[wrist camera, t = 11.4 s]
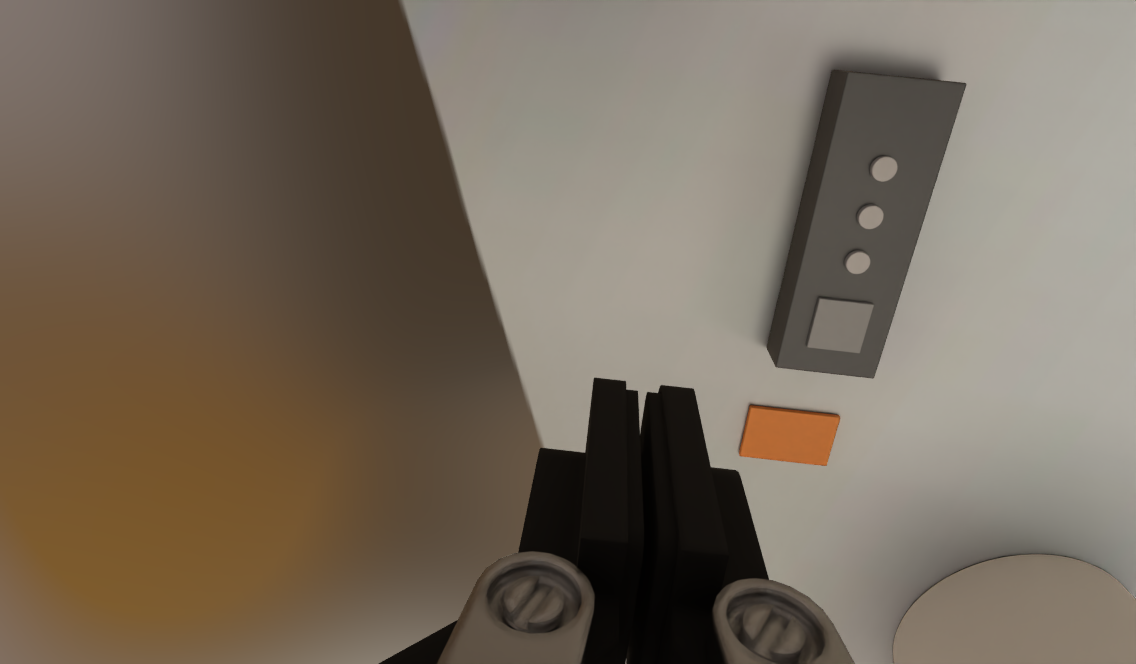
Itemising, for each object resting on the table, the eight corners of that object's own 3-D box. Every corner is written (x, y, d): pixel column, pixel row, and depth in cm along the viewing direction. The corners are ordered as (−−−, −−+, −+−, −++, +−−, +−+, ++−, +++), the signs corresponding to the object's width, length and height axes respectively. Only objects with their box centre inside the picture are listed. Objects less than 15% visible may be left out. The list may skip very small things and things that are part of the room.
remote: (831, 69, 28) (850, 71, 25) (942, 80, 28) (971, 83, 25) (766, 348, 33) (777, 370, 31) (858, 358, 33) (876, 382, 30)
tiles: (868, -121, 25) (871, -123, 25) (991, -111, 25) (995, -113, 25) (738, 453, 35) (739, 456, 35) (824, 463, 35) (826, 466, 35)
